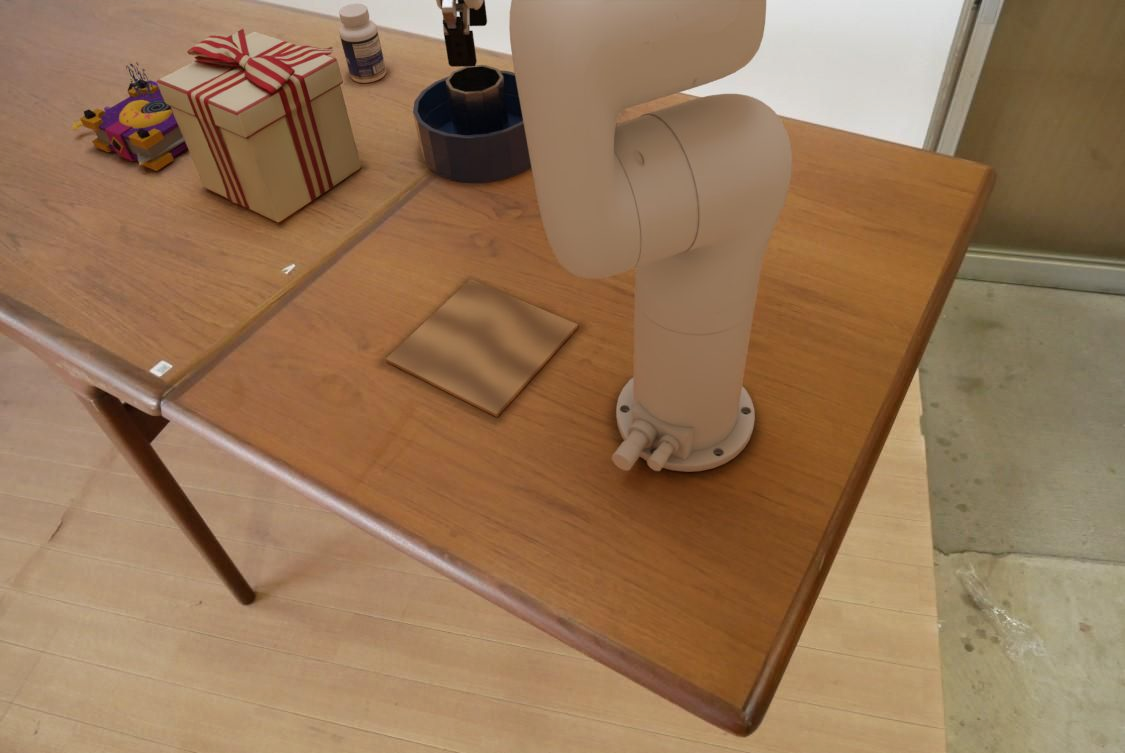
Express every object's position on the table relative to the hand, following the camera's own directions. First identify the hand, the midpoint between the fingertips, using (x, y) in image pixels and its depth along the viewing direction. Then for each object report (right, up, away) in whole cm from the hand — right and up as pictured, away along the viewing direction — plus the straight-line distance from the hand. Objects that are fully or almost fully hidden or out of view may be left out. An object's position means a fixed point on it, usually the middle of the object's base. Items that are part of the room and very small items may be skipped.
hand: (468, 44), depth 100 cm
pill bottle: (-18, +5, +25) cm, 31 cm away
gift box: (-24, -13, +9) cm, 29 cm away
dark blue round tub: (+1, -9, +10) cm, 14 cm away
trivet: (+3, -36, -14) cm, 39 cm away
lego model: (-43, -7, +16) cm, 47 cm away
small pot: (+1, -9, +10) cm, 13 cm away
